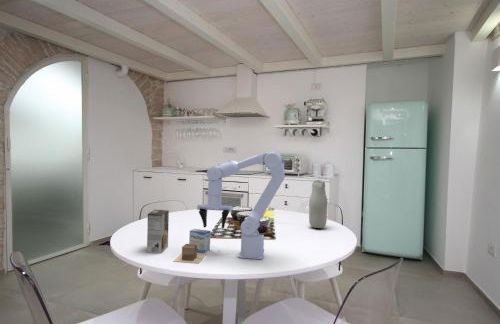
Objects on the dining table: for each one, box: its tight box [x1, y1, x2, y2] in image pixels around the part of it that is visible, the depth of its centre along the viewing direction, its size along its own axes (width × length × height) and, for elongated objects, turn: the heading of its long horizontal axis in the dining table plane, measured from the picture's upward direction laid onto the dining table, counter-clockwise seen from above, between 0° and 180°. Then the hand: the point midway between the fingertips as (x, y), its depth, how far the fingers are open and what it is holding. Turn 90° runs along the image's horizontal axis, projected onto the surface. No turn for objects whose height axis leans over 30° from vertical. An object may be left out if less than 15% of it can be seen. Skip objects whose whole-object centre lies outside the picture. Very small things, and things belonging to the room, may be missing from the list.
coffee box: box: [146, 209, 170, 254], centre depth 128 cm, size 9×6×16 cm
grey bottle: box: [308, 179, 328, 229], centre depth 175 cm, size 10×10×28 cm
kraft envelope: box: [172, 252, 207, 264], centre depth 119 cm, size 10×10×1 cm
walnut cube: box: [181, 243, 198, 261], centre depth 118 cm, size 4×4×5 cm
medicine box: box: [188, 228, 212, 254], centre depth 128 cm, size 8×4×9 cm, turn 70°
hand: (214, 227), depth 127 cm, fingers open, 7 cm apart
